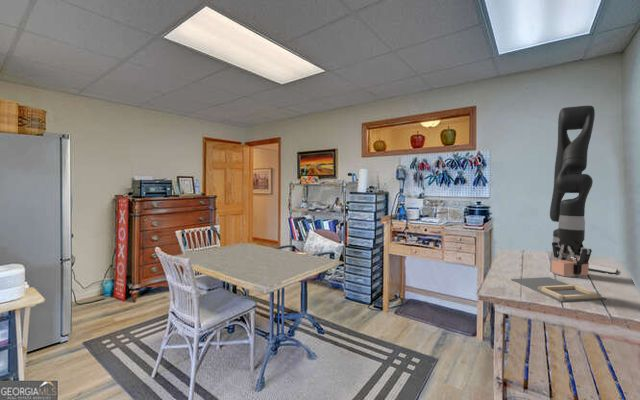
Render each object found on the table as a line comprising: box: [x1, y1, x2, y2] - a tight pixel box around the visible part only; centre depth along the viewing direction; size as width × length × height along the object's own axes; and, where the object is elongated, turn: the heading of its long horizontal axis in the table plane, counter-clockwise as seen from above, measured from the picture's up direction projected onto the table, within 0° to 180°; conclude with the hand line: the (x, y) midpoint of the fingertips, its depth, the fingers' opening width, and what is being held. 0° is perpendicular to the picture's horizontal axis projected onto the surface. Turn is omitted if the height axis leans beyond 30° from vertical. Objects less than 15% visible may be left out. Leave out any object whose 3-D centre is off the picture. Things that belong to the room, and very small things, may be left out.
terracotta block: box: [551, 259, 590, 277], centre depth 111 cm, size 10×5×4 cm, turn 95°
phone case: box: [588, 264, 619, 275], centre depth 142 cm, size 9×2×16 cm
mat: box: [510, 276, 608, 303], centre depth 117 cm, size 24×18×2 cm
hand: (569, 272), depth 111 cm, fingers closed on terracotta block, 5 cm apart
